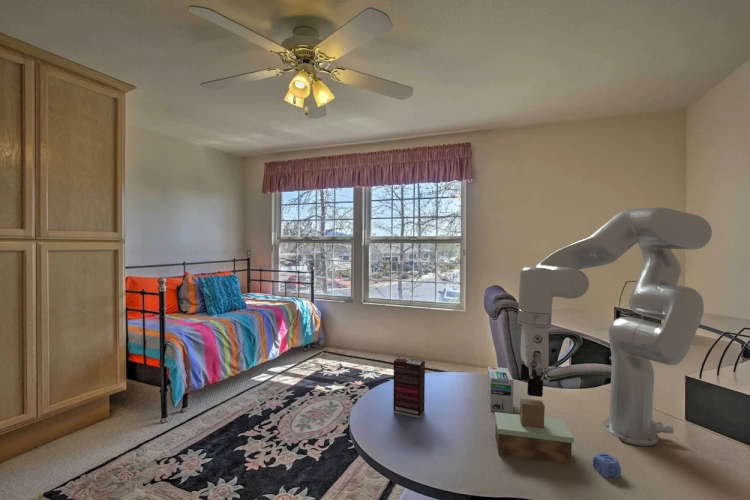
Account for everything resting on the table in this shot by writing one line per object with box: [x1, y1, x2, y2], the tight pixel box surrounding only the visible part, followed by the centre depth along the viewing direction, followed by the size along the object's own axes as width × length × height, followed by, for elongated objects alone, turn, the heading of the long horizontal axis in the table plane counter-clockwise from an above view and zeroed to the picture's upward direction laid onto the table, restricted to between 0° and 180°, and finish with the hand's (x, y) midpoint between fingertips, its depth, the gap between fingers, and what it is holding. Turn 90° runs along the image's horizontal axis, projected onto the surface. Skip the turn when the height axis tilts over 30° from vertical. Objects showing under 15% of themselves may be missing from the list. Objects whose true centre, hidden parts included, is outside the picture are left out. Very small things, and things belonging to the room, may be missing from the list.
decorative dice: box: [592, 452, 622, 479], centre depth 83 cm, size 4×4×4 cm
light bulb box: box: [486, 366, 515, 414], centre depth 116 cm, size 11×7×11 cm, turn 168°
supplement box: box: [392, 356, 426, 420], centre depth 111 cm, size 9×5×16 cm, turn 65°
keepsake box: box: [494, 425, 573, 465], centre depth 91 cm, size 16×8×6 cm, turn 77°
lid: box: [494, 398, 575, 444], centre depth 91 cm, size 17×9×7 cm, turn 77°
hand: (530, 387), depth 91 cm, fingers open, 9 cm apart
